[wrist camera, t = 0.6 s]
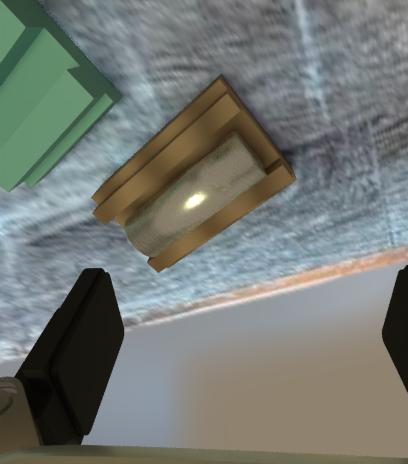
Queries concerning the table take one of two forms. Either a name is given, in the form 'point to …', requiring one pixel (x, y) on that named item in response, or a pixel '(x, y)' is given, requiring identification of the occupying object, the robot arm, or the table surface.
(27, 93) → the v block
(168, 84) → the table surface
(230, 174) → the axle
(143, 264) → the table surface
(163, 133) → the wooden channel block
